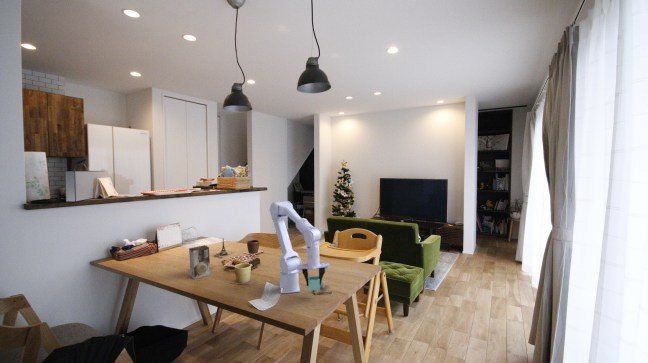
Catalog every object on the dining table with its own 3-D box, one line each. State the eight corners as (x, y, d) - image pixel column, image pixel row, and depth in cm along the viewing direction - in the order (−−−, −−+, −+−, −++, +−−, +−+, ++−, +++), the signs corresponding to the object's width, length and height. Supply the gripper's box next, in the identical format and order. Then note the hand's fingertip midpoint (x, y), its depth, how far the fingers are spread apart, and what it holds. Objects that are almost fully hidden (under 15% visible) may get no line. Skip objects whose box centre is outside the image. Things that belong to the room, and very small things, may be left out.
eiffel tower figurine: (223, 251, 212) (223, 233, 211) (235, 252, 209) (235, 234, 208) (210, 257, 197) (209, 238, 197) (222, 259, 194) (222, 239, 194)
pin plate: (315, 294, 136) (315, 285, 136) (313, 287, 144) (313, 279, 144) (331, 293, 137) (331, 284, 137) (329, 286, 145) (329, 277, 145)
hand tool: (255, 263, 184) (255, 256, 183) (260, 264, 182) (260, 257, 181) (233, 273, 167) (233, 265, 167) (238, 274, 165) (238, 266, 165)
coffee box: (206, 272, 169) (205, 244, 168) (210, 274, 164) (209, 246, 164) (189, 276, 163) (188, 248, 162) (194, 279, 158) (193, 250, 157)
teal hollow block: (308, 290, 128) (308, 280, 128) (307, 286, 133) (307, 276, 133) (319, 289, 129) (319, 279, 129) (318, 285, 134) (318, 275, 134)
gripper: (297, 259, 126) (298, 289, 126) (330, 257, 127) (330, 287, 128) (296, 254, 133) (297, 283, 133) (328, 252, 134) (328, 281, 135)
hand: (313, 284), depth 131 cm, fingers closed on teal hollow block, 5 cm apart
